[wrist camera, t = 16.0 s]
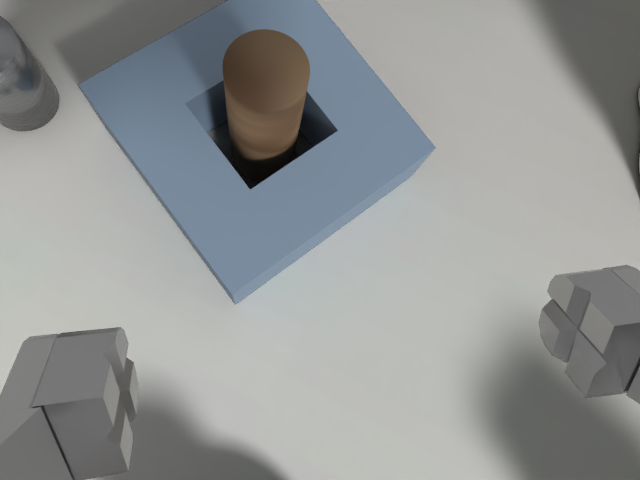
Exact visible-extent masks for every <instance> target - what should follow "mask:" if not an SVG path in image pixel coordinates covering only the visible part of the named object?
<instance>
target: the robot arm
mask: <svg viewBox="0 0 640 480" xmlns="http://www.w3.org/2000/svg"><path fill="white" fill-rule="evenodd" d="M638 98H639V105H640V88H639V91H638ZM639 172H640V155H639ZM547 292H548V294H549V296H550V297H551V299H552V300H551V301H550V302H549V303H548V304H547V305H546V306H545V307H544V308H543V309H542V311H541V315H540V319H539V328H540V335H541V338H542V340H543V342H544V345H545V346H546V348H547V349H548V350H549V352H550V353H551V355H553V356H555V357H557V358H558V359H560V360H562V361H564V362H566V363H565V373H566V374H567V375H568V377H569V378H570V379H571V381H572V382H573V383H574V384H575V386H576V387H577V388H578V390H579V391H580V392H581V393H582V395H583V396H584V397H585V398H592V397H599V396H607V395H615V394H622V393H627V396H628V397H630V398H632V399H633V400H635V401H636V402H638V403H639V404H640V271H639V270H637V269H636V268H634V267H631V266H628V265H624V266H617V267H610V268H603V269H599V270H591V271H583V272H575V273H567V274H559V275H555V277H554V278H553V279H552V280H551V281H550V284H549V287H548V290H547ZM127 350H128V341H127V338H126V335H125V331H124V330H123V329H122V328H121V327H117V328H107V329H97V330H87V331H77V332H66V333H61V334H51V335H41V336H31V337H29V338H27V339H26V340H25V341H24V342H23V343H22V346H21V348H20V350H19V353H18V355H17V357H16V360H15V362H14V364H13V366H12V369H11V371H10V373H9V376H8V378H7V380H6V383H5V385H4V387H3V390H2V392H1V394H0V480H85V479H91V478H96V477H101V476H107V475H112V474H117V473H123V472H128V471H129V464H130V457H131V450H132V444H133V434H132V430H131V427H130V424H129V423H130V422H131V421H132V420H133V419H134V417H135V416H136V415H137V407H138V381H137V374H136V370H135V366H134V362H132V361H131V360H129V359H128V358H127V357H126V356H127Z"/></svg>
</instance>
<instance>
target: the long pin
mask: <svg viewBox="0 0 640 480" xmlns="http://www.w3.org/2000/svg"><path fill="white" fill-rule="evenodd" d="M222 66H223V79H224V88H225V98H226V107H227V117H228V126H229V136H230V145H231V155H232V159H233V162H234V164H235V166H236V167H237V169H238V170H239V171H240V172H241V173H242V174H243V175H245V176H246V177H248V178H250V179H253V180H257V181H264V180H265V179H267V178H268V177H270V176H271V175H273V174H274V173H276V172H277V171H279V170H280V169H282V168H283V167H285V166H286V165H288V164H289V163H291V162H292V161H293V157H294V152H295V147H296V142H297V137H298V132H299V127H300V122H301V117H302V112H303V107H304V102H305V97H306V93H307V88H308V83H309V78H310V64H309V60H308V57H307V55H306V53H305V51H304V50H303V48H302V47H301V46H300V45H299V43H298V42H296V41H295V40H294V39H293V38H291V37H290V36H288V35H286V34H284V33H282V32H279V31H275V30H269V29H259V30H253V31H250V32H247V33H245V34H243V35H241V36H239V37H238V38H236V39H235V40H234V41H233V42H232V43H231V44H230V46H229V47H228V49H227V50H226V53H225V55H224V58H223V65H222Z"/></svg>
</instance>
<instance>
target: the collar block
mask: <svg viewBox="0 0 640 480" xmlns="http://www.w3.org/2000/svg"><path fill="white" fill-rule="evenodd" d="M259 29H269V30H275V31H279V32H282V33H284V34H286V35H288V36H290V37H291V38H293V39H294V40H295V41H296V42H298V43H299V45H300V46H301V47H302V48H303V50H304V51H305V53H306V55H307V57H308V60H309V64H310V78H309V83H308V88H307V93H306V97H305V102H304V107H303V112H302V117H301V122H300V127H299V129H300V130H301V132H302V133H303V134H304V136H305V137H306V138H307V139H308V141H309V142H310V143H311V144H312V146H313V148H311V149H310V150H308V151H307V152H305V153H304V154H302V155H301V156H300V157H298V158H297V159H295V160H294V161H292V162H291V163H289V164H288V165H286V166H285V167H283V168H282V169H280V170H279V171H277V172H276V173H274V174H273V175H271V176H270V177H268V178H267V179H265V180H264V181H262V182H261V183H259V184H258V185H256V186H255V187H253V188H252V189H249V187H248V186H247V185H246V184H245V182H244V181H243V180H242V178H241V177H240V176H239V174H238V173H237V172H236V170H235V169H234V168H233V166H232V165H231V164H230V162H229V161H228V160H227V158H226V157H225V156H224V155H223V153H222V152H221V151H220V149H219V148H218V147H217V145H216V144H215V143H214V141H213V140H212V139H211V137H210V136H209V135H208V132H210V131H211V130H213V129H214V128H216V127H217V126H219V125H221V124H222V123H224V122H225V121H227V120H228V117H227V107H226V98H225V88H224V79H223V66H222V65H223V58H224V55H225V53H226V50H227V49H228V47H229V46H230V44H231V43H232V42H233V41H234V40H235V39H236V38H238V37H239V36H241V35H243V34H245V33H247V32H250V31H253V30H259ZM78 86H79V87H80V89H81V90H82V92H83V93H84V95H85V97H86V98H87V100H88V101H89V103H90V104H91V106H92V107H93V109H94V110H95V112H96V114H97V115H98V117H99V118H100V120H101V121H102V123H103V124H104V126H105V127H106V129H107V130H108V131H109V133H110V134H111V135H112V137H113V138H114V140H115V141H116V142H117V144H118V145H119V146H120V148H121V149H122V150H123V152H124V153H125V155H126V156H127V157H128V159H129V160H130V161H131V163H132V164H133V166H134V167H135V168H136V170H137V171H138V172H139V174H140V175H141V176H142V178H143V179H144V181H145V182H146V183H147V185H148V186H149V187H150V189H151V190H152V191H153V193H154V194H155V196H156V197H157V198H158V200H159V201H160V202H161V204H162V205H163V206H164V208H165V209H166V211H167V212H168V213H169V215H170V216H171V217H172V219H173V220H174V221H175V223H176V224H177V226H178V227H179V228H180V230H181V231H182V232H183V234H184V235H185V236H186V238H187V239H188V241H189V242H190V243H191V245H192V246H193V247H194V249H195V250H196V251H197V253H198V254H199V256H200V257H201V258H202V260H203V261H204V262H205V264H206V265H207V266H208V268H209V269H210V271H211V272H212V273H213V275H214V276H215V277H216V279H217V280H218V281H219V283H220V284H221V286H222V287H223V288H224V290H225V291H226V292H227V294H228V295H229V296H230V298H231V299H232V301H233V302H234V303H235V305H236V304H237V303H239V302H240V301H241V300H243V299H244V298H245V297H247V296H248V295H249V294H251V293H252V292H254V291H255V290H256V289H258V288H259V287H260V286H262V285H263V284H265V283H266V282H267V281H269V280H270V279H271V278H273V277H274V276H276V275H277V274H278V273H280V272H281V271H282V270H284V269H285V268H286V267H288V266H289V265H291V264H292V263H293V262H295V261H296V260H297V259H299V258H300V257H302V256H303V255H304V254H306V253H307V252H308V251H310V250H311V249H313V248H314V247H315V246H317V245H318V244H319V243H321V242H322V241H323V240H325V239H326V238H328V237H329V236H330V235H332V234H333V233H334V232H336V231H337V230H339V229H340V228H341V227H343V226H344V225H345V224H347V223H348V222H350V221H351V220H352V219H354V218H355V217H356V216H358V215H359V214H360V213H362V212H363V211H365V210H366V209H367V208H369V207H370V206H371V205H373V204H374V203H376V202H377V201H378V200H380V199H381V198H382V197H384V196H385V195H387V194H388V193H389V192H391V191H392V190H393V189H395V188H396V187H397V186H399V185H400V184H402V183H403V182H404V181H406V180H407V179H408V178H410V177H411V176H412V175H413V173H414V172H415V171H416V170H417V169H418V168H419V166H420V165H421V164H422V163H423V162H424V161H425V160H426V158H427V157H428V156H429V155H430V154H431V153H432V152H433V150H434V149H435V148H436V147H435V146H434V145H433V144H432V142H431V141H430V140H429V139H428V138H427V136H426V135H425V134H424V133H423V131H422V130H421V129H420V128H419V126H418V125H417V124H416V123H415V122H414V120H413V119H412V118H411V117H410V115H409V114H408V113H407V112H406V110H405V109H404V108H403V107H402V106H401V104H400V103H399V102H398V101H397V99H396V98H395V97H394V96H393V94H392V93H391V92H390V91H389V90H388V88H387V87H386V86H385V85H384V83H383V82H382V81H381V80H380V78H379V77H378V76H377V75H376V74H375V72H374V71H373V70H372V69H371V67H370V66H369V65H368V64H367V62H366V61H365V60H364V59H363V58H362V56H361V55H360V54H359V53H358V51H357V50H356V49H355V48H354V46H353V45H352V44H351V43H350V42H349V40H348V39H347V38H346V37H345V35H344V34H343V33H342V32H341V30H340V29H339V28H338V27H337V26H336V24H335V23H334V22H333V21H332V19H331V18H330V17H329V16H328V14H327V13H326V12H325V11H324V10H323V8H322V7H321V6H320V5H319V3H318V2H317V1H316V0H227V1H225V2H224V3H222V4H220V5H218V6H217V7H215V8H213V9H211V10H209V11H208V12H206V13H204V14H202V15H201V16H199V17H197V18H195V19H193V20H192V21H190V22H188V23H186V24H185V25H183V26H181V27H179V28H177V29H176V30H174V31H172V32H170V33H169V34H167V35H165V36H163V37H162V38H160V39H158V40H156V41H154V42H153V43H151V44H149V45H147V46H146V47H144V48H142V49H140V50H138V51H137V52H135V53H133V54H131V55H130V56H128V57H126V58H124V59H122V60H121V61H119V62H117V63H115V64H114V65H112V66H110V67H108V68H106V69H105V70H103V71H101V72H99V73H98V74H96V75H94V76H92V77H90V78H89V79H87V80H85V81H83V82H82V83H80V84H78Z"/></svg>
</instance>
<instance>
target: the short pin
mask: <svg viewBox="0 0 640 480" xmlns="http://www.w3.org/2000/svg"><path fill="white" fill-rule="evenodd" d="M58 107H59V94H58V91H57V88H56V87H55V85H54V84H53V82H52V81H51V80H50V78H49V77H48V76H47V74H46V73H45V71H44V70H43V69H42V67H41V66H40V65H39V63H38V62H37V60H36V59H35V58H34V56H33V55H32V54H31V52H30V51H29V49H28V48H27V47H26V45H25V44H24V43H23V41H22V40H21V38H20V37H19V36H18V34H17V33H16V32H15V30H14V29H13V27H12V26H11V25H10V24H9V23H8V22H7V21H6V20H5V19H4V18H2V17H1V16H0V123H1V124H2V125H3V126H5V127H7V128H9V129H12V130H16V131H31V130H35V129H38V128H40V127H42V126H44V125H45V124H47V123H48V122H49V121H50V120H51V119H52V118H53V117H54V115H55V114H56V112H57V110H58Z"/></svg>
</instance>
